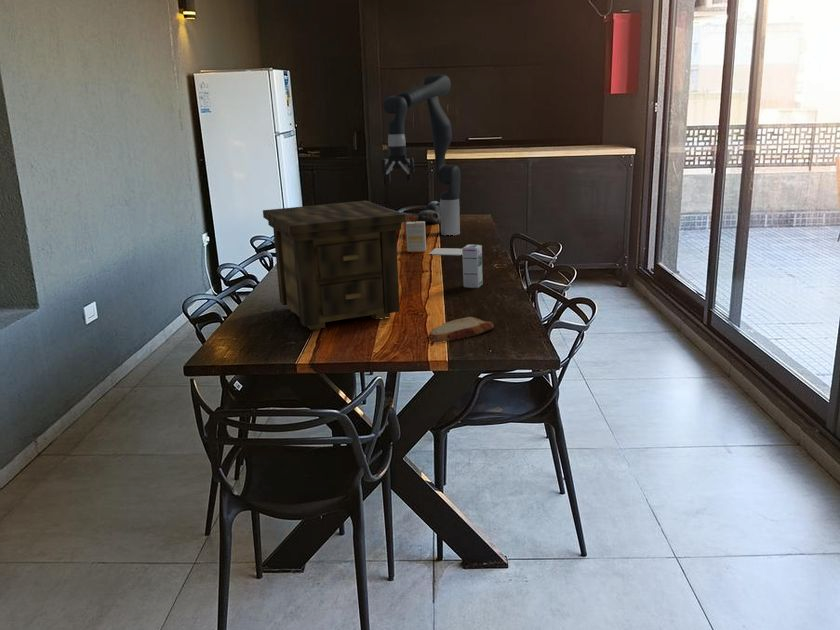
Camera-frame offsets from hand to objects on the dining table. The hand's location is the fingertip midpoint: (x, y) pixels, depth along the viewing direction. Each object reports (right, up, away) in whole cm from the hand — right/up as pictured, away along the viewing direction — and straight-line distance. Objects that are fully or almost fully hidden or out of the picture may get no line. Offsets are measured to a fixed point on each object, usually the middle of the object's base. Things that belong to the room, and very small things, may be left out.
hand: (398, 182), depth 320 cm
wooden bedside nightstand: (-17, -58, -86) cm, 105 cm away
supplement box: (+8, -30, +2) cm, 31 cm away
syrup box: (+28, -48, -58) cm, 81 cm away
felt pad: (+23, -31, -3) cm, 39 cm away
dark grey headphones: (+15, -9, +71) cm, 73 cm away
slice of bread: (+21, -64, -109) cm, 128 cm away
